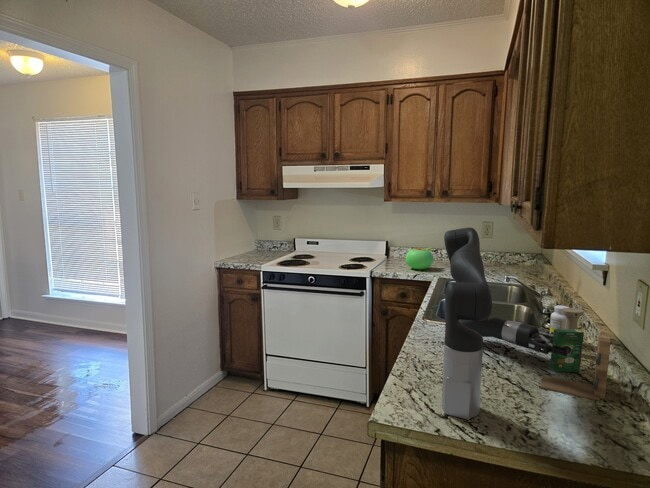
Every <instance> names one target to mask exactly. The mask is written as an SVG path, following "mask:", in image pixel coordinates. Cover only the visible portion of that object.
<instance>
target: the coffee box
mask: <svg viewBox="0 0 650 488" xmlns="http://www.w3.org/2000/svg"><path fill="white" fill-rule="evenodd" d="M584 335H585V332H584V331H583V330H581V329H578V328H577V329H554V334H553V343H552V344H553V345H554V346H559V347H563V348H566V349H568V355H567V356H562V355H559V354H556V353H550V354H551V355H550V363H549V369H550V370H551V371H552V372H553V373H580V371H581V363H582V351H583V345H584Z"/></svg>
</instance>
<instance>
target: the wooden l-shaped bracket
mask: <svg viewBox="0 0 650 488" xmlns="http://www.w3.org/2000/svg"><path fill="white" fill-rule="evenodd" d="M606 334H607V333H606V330H605V329H602V328H600V331H599V335H598V340H597V341H598V342H597V350H596V351H597V352H596V358H595V370H594V379H593V384H588V383H583V382H577V381H574V380H570V379H563V378H559V377H555V376H554V377H553V376H549V375H544V374H542V376H541V383H540V389H542V390H547V391H552V392H557V393H560V394H565V395H570V396H574V397H577V398H578V397H579V398H584V399H589V400H593V401H598V402H601V399H603V400H605V398H606V390H607V381H608V380H607V379H608V369H609V359H610V350H611V338H610V337H609V336H607V335H606Z"/></svg>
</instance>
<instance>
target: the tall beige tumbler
mask: <svg viewBox="0 0 650 488" xmlns="http://www.w3.org/2000/svg"><path fill="white" fill-rule="evenodd" d="M584 311H585V310H583V309H581V308H576V307H569V308H562V311H561V312H562V313H563V314H564V315H565V316H566V323H565V329H578V321H579V320H578V319H579V318H580V317H582V316H584Z"/></svg>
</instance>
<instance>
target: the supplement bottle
mask: <svg viewBox="0 0 650 488" xmlns="http://www.w3.org/2000/svg"><path fill="white" fill-rule="evenodd" d="M553 308H554V312H552V313H551V314H550V324H549V325H550V326H549V331H550V332H554V329H565V323H566V316H565V315H564V314H563V313H562V312H561V311H562V308H570V307H569V306H566V305H561V304H560V305H559V304H558V305H555V306H554V307H553Z"/></svg>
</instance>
